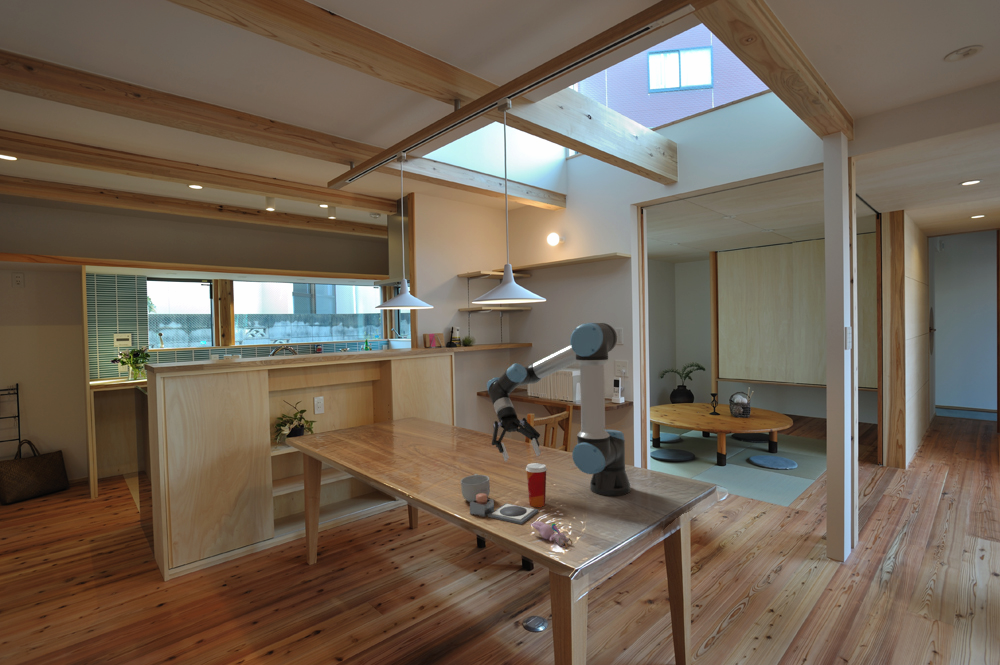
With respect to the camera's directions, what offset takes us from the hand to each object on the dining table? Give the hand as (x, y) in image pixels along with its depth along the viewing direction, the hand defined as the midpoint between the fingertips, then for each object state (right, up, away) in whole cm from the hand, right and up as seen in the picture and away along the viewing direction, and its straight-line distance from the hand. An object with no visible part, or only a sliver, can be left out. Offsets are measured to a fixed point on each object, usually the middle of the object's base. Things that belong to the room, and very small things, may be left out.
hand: (523, 457), depth 178 cm
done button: (-15, -12, -15) cm, 24 cm away
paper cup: (+5, -15, -9) cm, 18 cm away
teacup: (-18, -16, -1) cm, 24 cm away
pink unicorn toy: (+6, -15, -37) cm, 41 cm away
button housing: (-15, -15, -15) cm, 26 cm away
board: (-4, -15, -17) cm, 23 cm away
